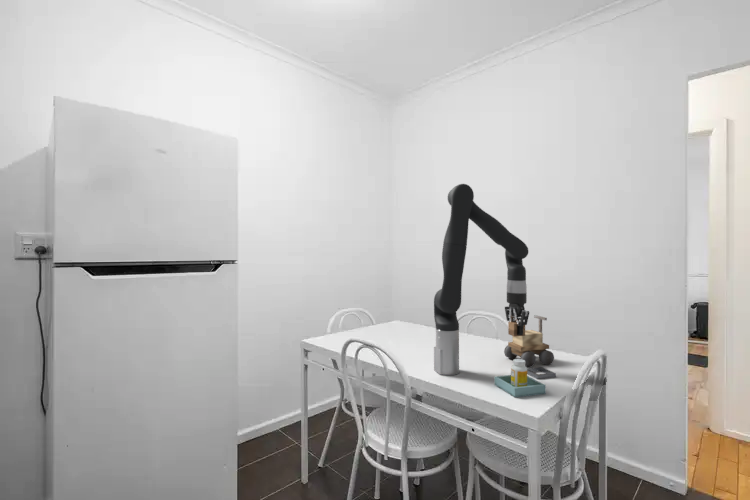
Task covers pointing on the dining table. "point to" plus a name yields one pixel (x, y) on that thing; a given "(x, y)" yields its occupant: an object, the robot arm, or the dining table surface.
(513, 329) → the block
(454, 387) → the dining table surface
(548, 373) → the square frame
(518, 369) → the supplement bottle
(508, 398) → the dining table surface
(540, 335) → the trolley
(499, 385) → the tray
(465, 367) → the dining table surface
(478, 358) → the dining table surface
